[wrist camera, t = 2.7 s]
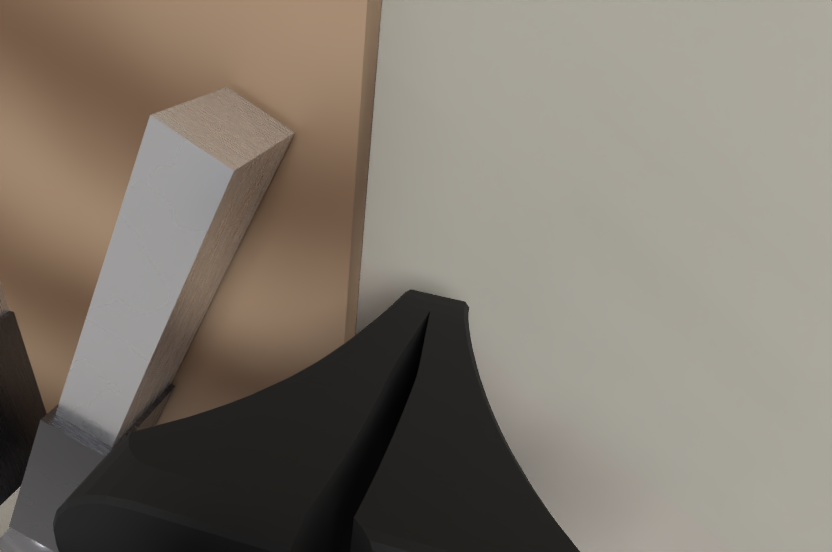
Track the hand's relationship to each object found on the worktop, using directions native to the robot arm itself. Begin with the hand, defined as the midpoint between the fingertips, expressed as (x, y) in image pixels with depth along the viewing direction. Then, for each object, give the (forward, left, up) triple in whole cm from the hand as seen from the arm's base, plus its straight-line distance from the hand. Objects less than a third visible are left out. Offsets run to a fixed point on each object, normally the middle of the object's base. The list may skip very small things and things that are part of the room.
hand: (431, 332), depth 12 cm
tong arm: (-4, +8, -1) cm, 9 cm away
